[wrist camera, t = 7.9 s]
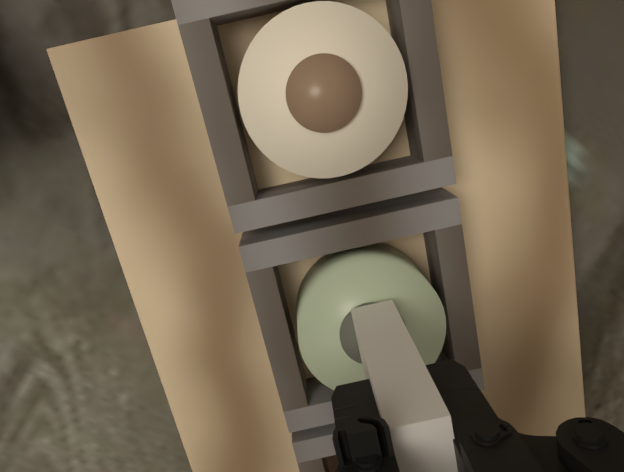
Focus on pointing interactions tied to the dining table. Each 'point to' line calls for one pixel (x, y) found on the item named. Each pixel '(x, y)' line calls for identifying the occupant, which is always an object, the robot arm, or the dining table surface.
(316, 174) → the cream button
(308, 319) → the sage button
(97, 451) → the dining table surface
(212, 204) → the panel
